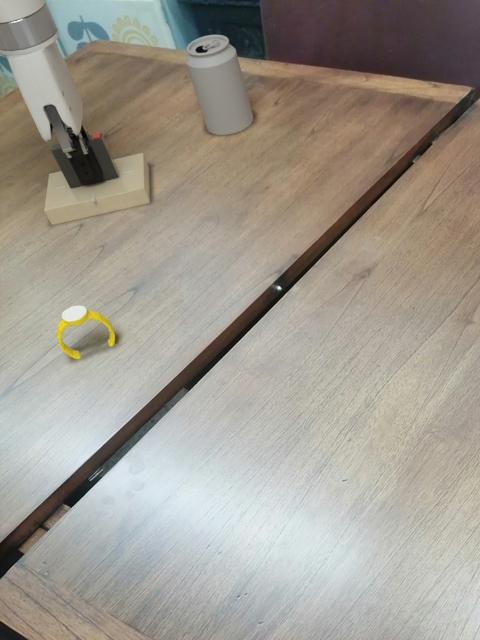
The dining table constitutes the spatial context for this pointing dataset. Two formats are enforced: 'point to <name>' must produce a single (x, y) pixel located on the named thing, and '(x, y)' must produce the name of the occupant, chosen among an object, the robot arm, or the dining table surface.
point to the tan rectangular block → (99, 192)
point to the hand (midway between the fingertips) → (92, 175)
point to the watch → (77, 317)
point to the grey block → (100, 153)
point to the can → (219, 85)
